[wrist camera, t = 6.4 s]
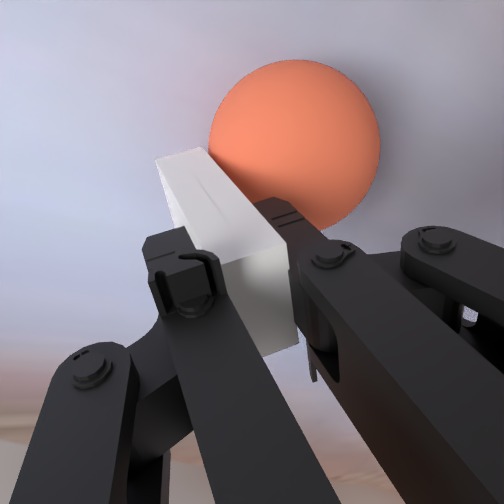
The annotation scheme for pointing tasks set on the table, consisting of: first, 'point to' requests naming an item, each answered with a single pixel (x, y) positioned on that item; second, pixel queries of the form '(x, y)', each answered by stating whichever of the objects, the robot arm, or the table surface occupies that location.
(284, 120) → the ball
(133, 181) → the table surface
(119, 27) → the table surface
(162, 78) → the table surface
